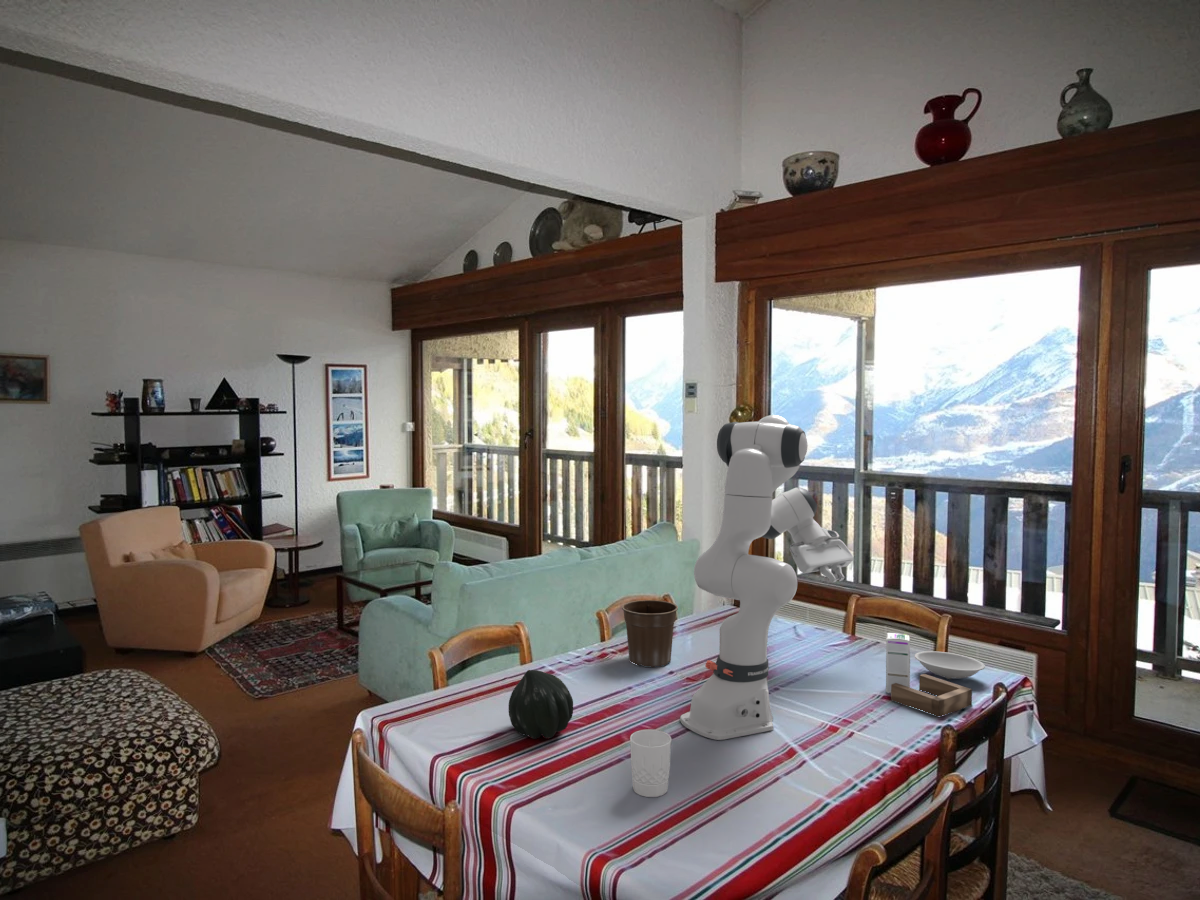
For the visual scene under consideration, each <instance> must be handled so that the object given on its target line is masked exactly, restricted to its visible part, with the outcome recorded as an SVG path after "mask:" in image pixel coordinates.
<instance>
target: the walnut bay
mask: <svg viewBox="0 0 1200 900" xmlns="http://www.w3.org/2000/svg"><path fill="white" fill-rule="evenodd" d="M918 680H919V682H918V683H919V685H918V686H919V689H915V688H912V687H907V686H904V685H901V684H898V683H894V684H891V693H890V701H892V700H893V702H895V701H896V703H898V702H899V703H898V704H900V703H902V704H901V705H903V704H904V705H903V706H906V705H907V706H906V707H909V706H911V707H914V708H917V709H920V710H923V711H925V712H928V713H931V714H934V715H936V716H942V715H945V714H947V715H949V714H948V713H950V714H952V713H954V711H955V712H957V711H961V710H963V709H965V708H968V707H970V706H972V703H973V699H972V698H973V689H972V688H969V687H967V686H963V685H960V684H957V683H954V682H952V681H951V682H950V681H947V680H945V679H941V678H938V677H935V676H933V675H930V674H926V673H922V674H920V675H919V679H918ZM920 690H922V691H926V692H929V693H931V694H934V695H937V696H934V695H931V694H928V693H925V692H922V691H920ZM911 707H910V708H911ZM914 708H913V709H914ZM962 708H963V709H962ZM917 709H916V710H917ZM920 710H919V711H920ZM925 712H924V713H925ZM951 712H952V713H951ZM928 713H927V714H928ZM936 716H935V717H936ZM945 716H946V715H945ZM942 717H943V716H942Z"/></svg>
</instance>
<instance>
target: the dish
mask: <svg viewBox="0 0 1200 900" xmlns="http://www.w3.org/2000/svg"><path fill="white" fill-rule="evenodd" d="M914 658H915V660H917V661H918V662H919V663H920V664H921V665H922V666H923V667H924V668H925V669H926V670H927V671H929V672H931V673H933V674H934V675H937V676H940V677H943V678H944V679H946V678H947V679H946V680H952V679H967V678H970V677H972V676H974V675H976V674H977V673H979V672H980V671H983V670H984V669H985V668H986V665H985V663H983V662H982V661H980V660H978V659H975V658H973V657H970V656H966V655H962V654H958V653H953V652H947V651H946V652H945V651H938V650H937V651H935V650H929V651H926V650H925V651H919V652H916V653H914Z"/></svg>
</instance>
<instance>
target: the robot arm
mask: <svg viewBox="0 0 1200 900" xmlns="http://www.w3.org/2000/svg"><path fill="white" fill-rule="evenodd" d="M808 446H809V445H808V439H807V435H806V433H805V430H803V429H802V428H801V427H800V426H798V425H796V424H791V423H789V422H788V420H787V419H786V418H784V416H783V417H782V416H780V415H776V414H770V415H766V416H764V417H761V419H759V420H757V421H746V422H745V421H744V422H739V421H733V422H728V423H725V424H723V425H722V426H721V428H720V429H719V430H718V433H717V437H716V450H717V455H718V456H719V458H720V459H721V460H722V462H723V463H725V464H726V466H727V472H726V477H725V485H724V499H723V500H724V501H723V512H722V513H723V514H722V521H721V527H720V529H719V533H718V535H717V537H716V539H715V541H714V542H713V544H712V545H711V546H710V547H709V548H708V549H707V550H706V551H704V552H703V553H701V555H700V556H699V557H698V558H697V560H696V562H695V564H694V566H693V567H694V568H693V576H694V581H695V583H696V585H697V587H698V588H699V589H700V590H702V591H705V592H706V593H709V594H711V595H714V596H717V597H721V598H726V599H731V600H736V601H739V610H738V612H737V613H734V614H732V615H729V616H728V617H727V618H724V620H723V621H722V623H721V624H720V627H719V652H718V653H719V655H718V656H717V658H716V662H714V661H712V660H710V659H709V660H706V662H705V669H707V670H710V671H712V672H713V674H711V676H710V677H709V678H708V679H706V681H705V682H704V684H702V685H701V686H700V687H699V688H698V690H696V692H694V694H693V695H692V698H691V701H690V702H691V703H690V708H689V709H690V710H689V711H687V712H685V713H683V714H681V715H680V718H679V721H680V723H681V724H682V725H683V726H684V727H685V728H687V729H688V730H690V731H691V732H693V733H696V734H698V735H700V736H702V737H705V738H708V739H712V740H716V741H717V740H718V741H724V740H727V739H733V738H738V737H743V736H749V735H754V734H760V733H766V732H771V731H773V730H774V723H773V720H774V717H773V714H772V709H771V703H770V702H771V701H770V692H769V687H768V685H769V684H768V677H769V670H770V666H769V658H768V657H767V654H768V653H767V652H768V637H769V636H768V635H769V628H770V625H771V622H772V620H773V618H774V616H775V615H776V613H777V612H778V611H779V610H780V609H781V608H782V607H784V606H786V605H787V604H789V603H790V602H791V601H792V599H793V598H794V597H795V595H796V592H797V589H798V577H797V573H796V571H795V570H794V568H793V566H792V565H791V564H789V563H786V562H785V561H782V560H779V559H776V558H773V557H768V556H762V555H756V554H749V551H750V546H751V544H752V542H753V541H754V540H756V539H760V538H765V539H767V540H768V539H769V540H774V539H776V538H778V537H779V536H781V535H782V534H784V533H785V532H788V533H789V534H790V536H791V540H792V541H793V542H792V543H790V545H789V548H788V549H789V551H790V553H791V557H792V558H793V561H794V563H795V565H796V567H797V568H798V570H799V572H801V573H803V574H810V573H815V572H820V573H821V575H823V576H824V577H826V579H827V578H828V580H829V582H830V583H836V582H842V581H844V580H845V575H844V574H843V570H842V568H845V567H848V566H849V565H850V564H851V563H853V561H854V556H853V554H852V552H851V550H850V549H849V547H848V546H847V545H846V543H844V541H843V540H841V539H839V538H840V535H839V533H838V532H837V531H835V530H831V529H827V528H824V527H821V525H820V524H819V523H818V522H817V521H816V520H815V518H814V517H815V516H816V513H817V509H818V504H817V503H818V502H816V500H815V498H813V496H812V495H811V493H810V491H809V490H808V489H805V488H803V487H798V486H797V487H794V488H791V489H789V490H787V491H784V492H781V493H780V494H778V495H777V496H776V497H775V498H773V494H774V492H775V491H776V490H777V489H778V488H780V487H781V486H782V485H783V484H785V483H787V481H789V480H790V479H791V478H793V477H794V476H795V475H796V473H797V472H798V470H799V469H800V467H801V464H802V463H803V462H804V461H805V458H806V455H807V452H808ZM831 570H832V571H831Z"/></svg>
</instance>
